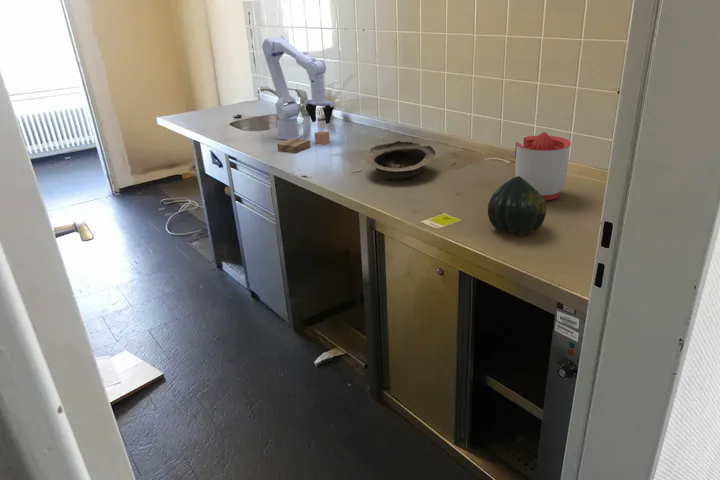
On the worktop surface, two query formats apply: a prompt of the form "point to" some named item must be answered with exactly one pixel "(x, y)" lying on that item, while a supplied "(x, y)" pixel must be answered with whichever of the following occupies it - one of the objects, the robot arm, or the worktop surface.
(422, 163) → the stone bowl
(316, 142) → the terracotta cube
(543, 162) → the citrus juicer
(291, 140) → the walnut block
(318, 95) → the robot arm
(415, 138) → the worktop surface
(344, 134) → the worktop surface
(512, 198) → the squash
